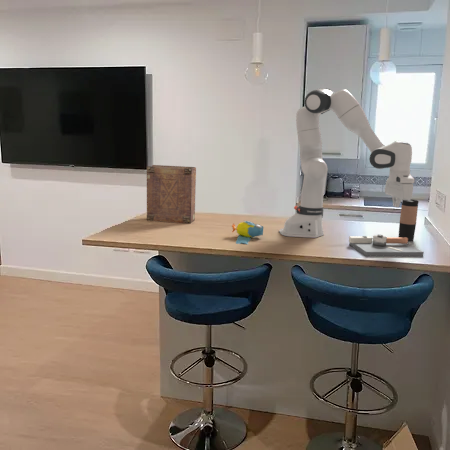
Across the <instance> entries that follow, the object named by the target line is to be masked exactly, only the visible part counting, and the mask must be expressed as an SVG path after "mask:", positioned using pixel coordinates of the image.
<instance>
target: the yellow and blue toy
mask: <svg viewBox="0 0 450 450" xmlns="http://www.w3.org/2000/svg"><path fill="white" fill-rule="evenodd" d="M231 227H232V231H231V233H234V232H235V231H236V233H237V235H238V236H237V239H236V241H235V244H237V245H238V244H239V245H243V244H244V245H249V242H250V241H251V240H252V238H253V237H260V236H263V235H264V225H260V224H258V223H254V222H252V221H247V220H244V221H243V222H239V223H238V224H237V226H236V224H235V223H233V222H232V225H231Z"/></svg>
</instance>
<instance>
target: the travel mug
mask: <svg viewBox="0 0 450 450" xmlns="http://www.w3.org/2000/svg"><path fill="white" fill-rule="evenodd" d="M418 208H419V200H417V199H412V198H411V199H410V200H402V201H401V208H400V210H401V211H400V216H399V227H398V237H406V238H408V242H411V243H412V242H414V238H415V234H416V233H415V232H416V228H417V227H416V225H417V218H418V210H419V209H418Z"/></svg>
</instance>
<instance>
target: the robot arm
mask: <svg viewBox="0 0 450 450" xmlns="http://www.w3.org/2000/svg"><path fill="white" fill-rule="evenodd" d="M303 103H304V106H303V107H301V108H299V109H298V110H297V111H296V116H295V117H296V120H295V121H296V124H295V125H296V131H297V138H298V144H299V145H298V146H299V154H300V166H301V171H302V174H303V181H302V188H301V195H300V205H294V206H293V209H294V210H295V211H296V213H294V214H293V215H291V216H290V217H288V218H287V219H286V220H285V222H284V225H283V228H280V229H279V230H278V231H279V234H280V235H282V236H284V237H293V238H295V237H296V238H318V237H321V236H322V237H323V236H324V235H325V234H324V228H323V217H324V207H323V206H324V205H323V204H324V203H323V202H324V194H325V193H324V192H325V189H326V188H325V187H326V182H327V176H328V171H329V169H328V165H327V163H326V162H325V160H323V141H322V140H323V139H322V134H321V127H320V116H321V115H323V114H325V113H327V112H329V111H333V112H334V114H335V115H336V116H337V118H338V119H339V121H340V122H341V124H342V125H343V126H344V127H345V128H346V129H347V130H348V131H350V132H352V133H354V134H355V135H357V136H358V137H359V138H360V139H361V140H362V142H363V143H364V144H365V146H366V147H367V148H368V150H369V152H370V154H369V163H370V165H371V166H372V167H373V168H375V169H377V170H383V169H389V175H388V178H387V179H386V182H385V185H384V186H385V187H384V194H385V195H387V196H391V197H392V200H391V201H392V207H393V208H400V205H401V204H402V200H410V199H412V198H413V192H414V183H415V178H414V176H412V174H411V168H410V167H411V164H412V158H413V157H412V156H413V147H412V145H411V144H410V143H408V142H406V141H401V140H396V141H395V140H394V141H393V142H392V143H390V144H387V145H384V144H383V143H382V142H381V140H380V139H379V137H378V136H377V134H376V133H375V131H374V130H373V129H372V126H371V125H370V123H369V119H368V118H367V117H368V116H367V115H366V112H365V111H364V109H363V107H362V105H361V104H360V103H359V101H358V100H357V99H356V98H355V96H354V95H353V94H352V93H351V92H350V91H348V90H347V89H340V90H337V91H336V92H334V91H333V90H332V89H330V88H317V89H314V90H311V91H310V92H308V93H307V94H306V96H305V97H304V102H303Z"/></svg>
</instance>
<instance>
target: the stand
mask: <svg viewBox="0 0 450 450" xmlns="http://www.w3.org/2000/svg"><path fill="white" fill-rule="evenodd" d="M372 243H373V236H367V235H364V236H361V235H360V236H359V235H357V236H356V235H355V236H353V235H352V236H351V235H350V236H349V237H348V244H349V246H350V247H352V248H353V249H355V250H356V251H358V252H359V253H361V254H362V256H365V257H398V258H399V257H401V258H402V257H410V258H411V257H414V258H415V257H416V258H417V257H424V251H422V250H421V249H418V248H417V247H415V246H413V245H411V244H409V243H386V246H376V245H373V244H372Z"/></svg>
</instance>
